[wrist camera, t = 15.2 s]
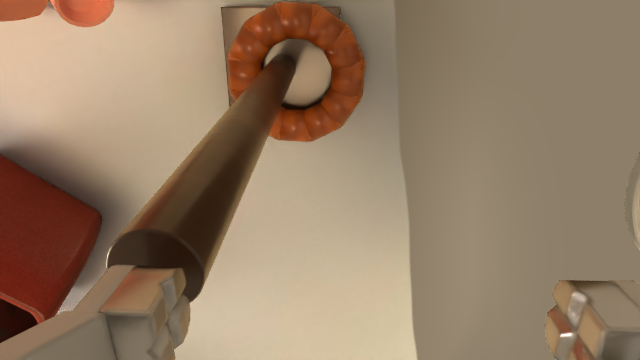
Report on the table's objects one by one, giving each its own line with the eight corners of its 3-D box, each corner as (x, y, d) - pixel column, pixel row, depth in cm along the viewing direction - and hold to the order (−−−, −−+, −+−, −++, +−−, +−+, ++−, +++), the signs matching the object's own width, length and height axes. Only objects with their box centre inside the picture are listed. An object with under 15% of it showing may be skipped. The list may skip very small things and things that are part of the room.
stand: (339, 6, 37) (372, 61, 8) (337, 119, 41) (354, 419, 12) (224, 6, 37) (-137, 59, 8) (233, 118, 41) (11, 412, 12)
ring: (369, 5, 36) (372, 6, 33) (357, 138, 40) (358, 148, 38) (229, -2, 36) (221, -2, 33) (233, 132, 40) (227, 141, 38)
